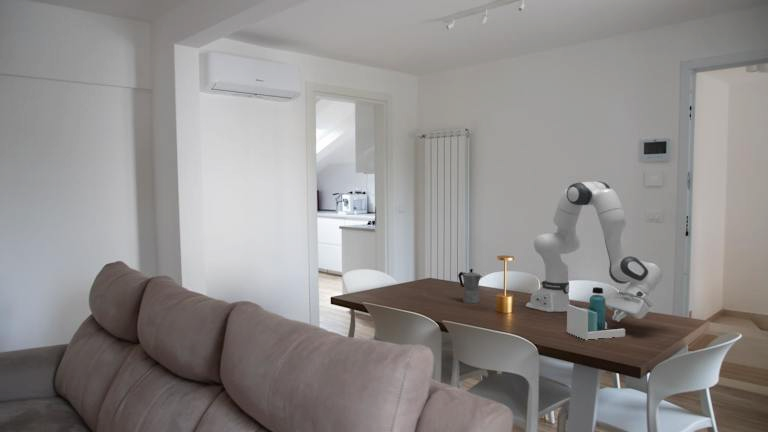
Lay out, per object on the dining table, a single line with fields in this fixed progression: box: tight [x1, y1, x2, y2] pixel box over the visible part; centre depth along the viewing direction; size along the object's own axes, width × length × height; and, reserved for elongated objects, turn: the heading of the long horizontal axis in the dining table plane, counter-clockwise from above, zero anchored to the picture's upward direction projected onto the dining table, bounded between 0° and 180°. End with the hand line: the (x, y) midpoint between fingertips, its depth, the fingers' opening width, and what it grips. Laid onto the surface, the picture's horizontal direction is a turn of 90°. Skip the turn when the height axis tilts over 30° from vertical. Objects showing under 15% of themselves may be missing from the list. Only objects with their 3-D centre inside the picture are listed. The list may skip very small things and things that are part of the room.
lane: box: [566, 304, 626, 341], centre depth 222 cm, size 19×12×12 cm, turn 105°
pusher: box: [580, 307, 597, 332], centre depth 222 cm, size 2×9×10 cm, turn 15°
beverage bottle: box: [588, 287, 607, 331], centre depth 222 cm, size 6×7×20 cm
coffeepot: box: [457, 268, 482, 304], centre depth 288 cm, size 15×9×18 cm, turn 44°
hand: (615, 319), depth 225 cm, fingers closed
